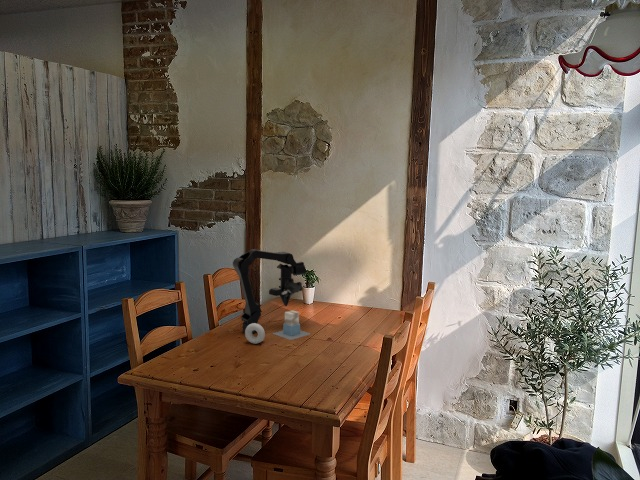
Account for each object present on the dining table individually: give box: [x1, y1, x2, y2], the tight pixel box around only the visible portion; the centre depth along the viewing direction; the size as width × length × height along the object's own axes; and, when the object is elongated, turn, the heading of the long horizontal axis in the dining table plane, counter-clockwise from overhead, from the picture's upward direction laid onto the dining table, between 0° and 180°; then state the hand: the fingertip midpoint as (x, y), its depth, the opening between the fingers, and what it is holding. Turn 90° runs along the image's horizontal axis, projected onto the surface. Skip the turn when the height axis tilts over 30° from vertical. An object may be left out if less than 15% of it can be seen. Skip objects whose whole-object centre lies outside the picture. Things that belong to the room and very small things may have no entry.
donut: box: [244, 323, 266, 345], centre depth 248 cm, size 10×4×10 cm, turn 73°
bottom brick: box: [282, 323, 301, 336], centre depth 261 cm, size 6×6×5 cm
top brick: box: [284, 310, 300, 326], centre depth 261 cm, size 5×5×6 cm
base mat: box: [271, 329, 311, 341], centre depth 262 cm, size 14×14×1 cm
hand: (285, 305), depth 272 cm, fingers closed
